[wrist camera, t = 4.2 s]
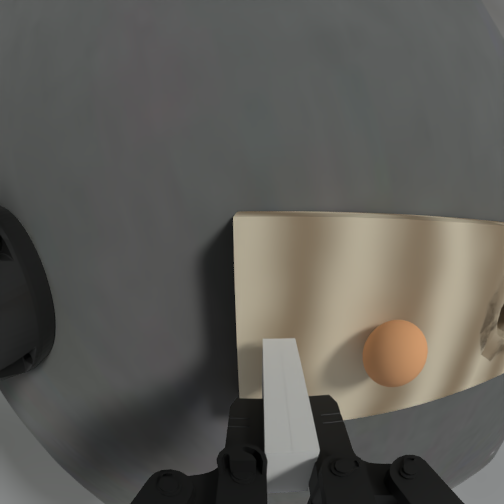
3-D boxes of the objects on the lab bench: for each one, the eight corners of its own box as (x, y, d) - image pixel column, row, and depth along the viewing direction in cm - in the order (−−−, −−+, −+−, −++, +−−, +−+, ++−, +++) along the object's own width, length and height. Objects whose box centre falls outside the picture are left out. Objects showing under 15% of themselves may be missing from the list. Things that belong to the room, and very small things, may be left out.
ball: (349, 366, 14) (368, 406, 11) (358, 311, 13) (385, 345, 10) (402, 359, 14) (427, 393, 11) (414, 306, 13) (448, 334, 10)
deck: (242, 397, 18) (241, 426, 15) (237, 211, 15) (233, 216, 12) (510, 348, 18) (526, 361, 15) (538, 226, 15) (559, 231, 12)
